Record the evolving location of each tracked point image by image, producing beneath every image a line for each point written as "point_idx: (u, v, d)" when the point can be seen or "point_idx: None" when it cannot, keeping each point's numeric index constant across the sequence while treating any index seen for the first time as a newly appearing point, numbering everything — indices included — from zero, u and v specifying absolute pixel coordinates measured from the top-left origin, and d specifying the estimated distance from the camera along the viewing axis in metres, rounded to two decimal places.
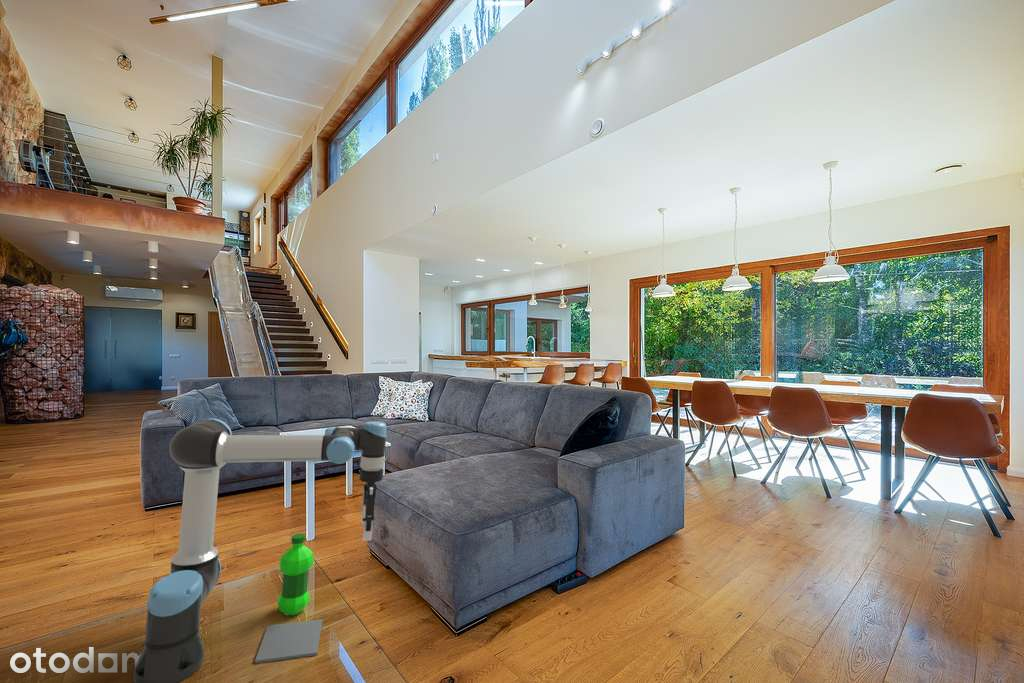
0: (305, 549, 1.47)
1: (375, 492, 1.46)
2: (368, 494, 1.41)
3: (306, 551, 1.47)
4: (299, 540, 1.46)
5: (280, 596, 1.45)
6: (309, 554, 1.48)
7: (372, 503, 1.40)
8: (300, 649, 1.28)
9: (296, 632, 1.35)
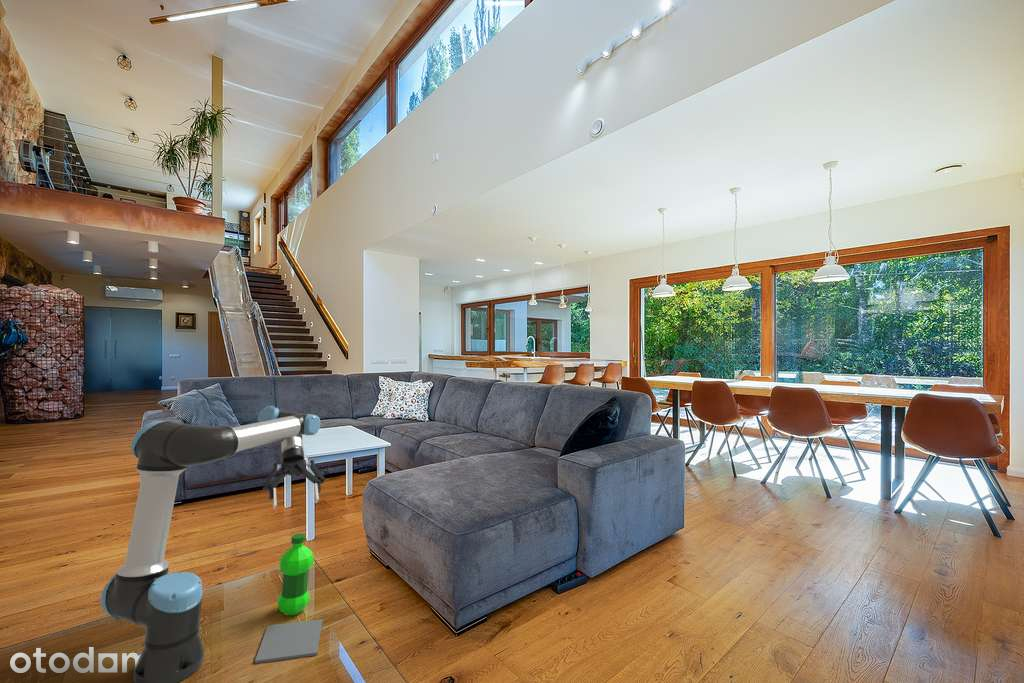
0: (305, 549, 1.47)
1: (301, 470, 1.66)
2: None
3: (306, 551, 1.47)
4: (299, 540, 1.46)
5: (280, 596, 1.45)
6: (309, 554, 1.48)
7: None
8: (300, 649, 1.28)
9: (296, 632, 1.35)
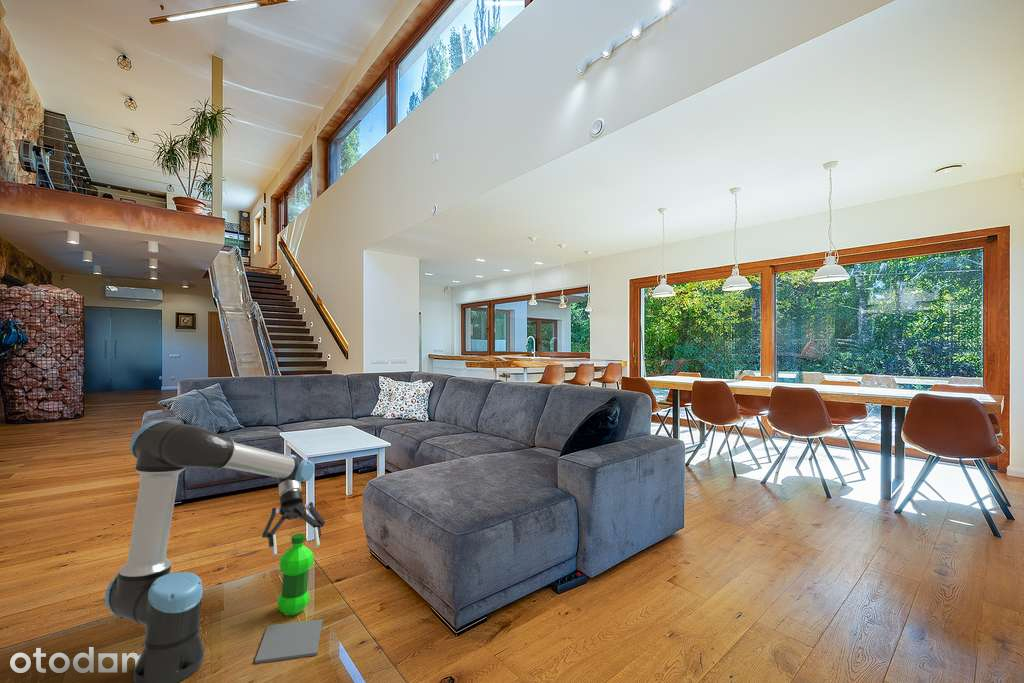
0: (305, 549, 1.47)
1: None
2: None
3: (306, 551, 1.47)
4: (299, 540, 1.46)
5: (280, 596, 1.45)
6: (309, 553, 1.48)
7: None
8: (300, 649, 1.28)
9: (296, 632, 1.35)
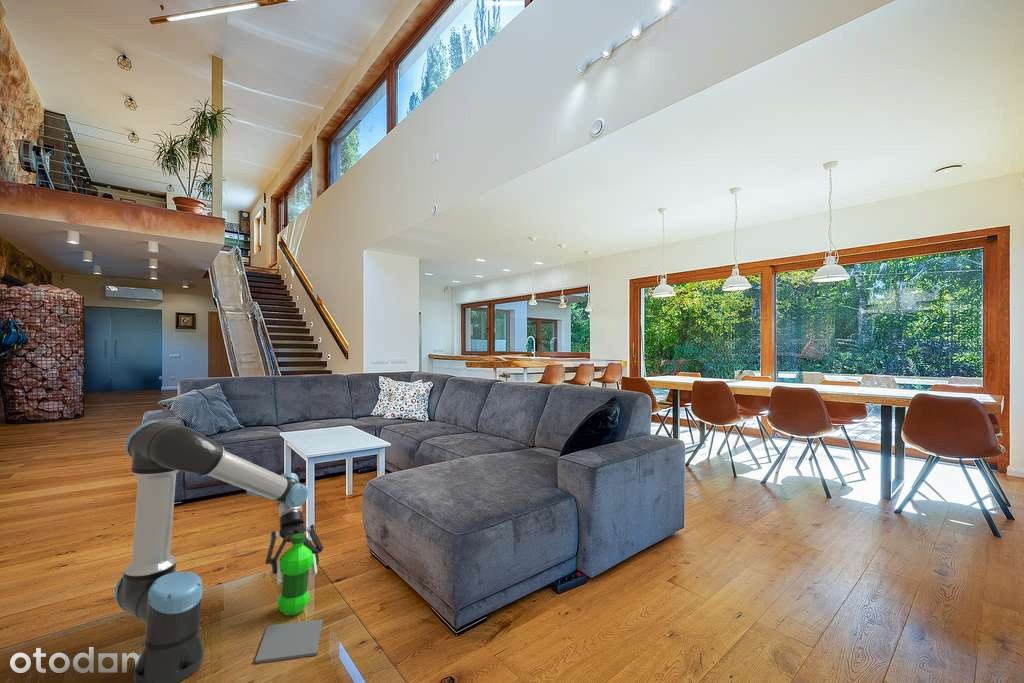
0: (305, 549, 1.47)
1: None
2: None
3: (306, 551, 1.47)
4: (299, 540, 1.46)
5: (280, 596, 1.45)
6: (309, 554, 1.48)
7: None
8: (300, 649, 1.28)
9: (296, 632, 1.35)
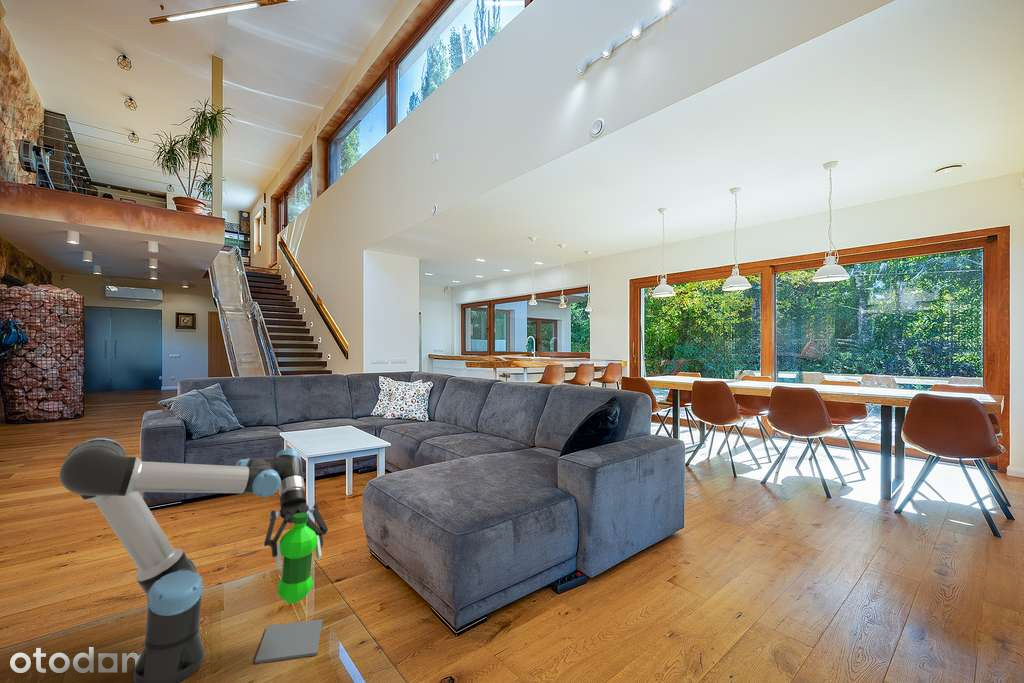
0: (308, 530, 1.33)
1: None
2: None
3: (309, 532, 1.33)
4: (301, 520, 1.32)
5: (280, 581, 1.31)
6: (313, 535, 1.33)
7: None
8: (300, 649, 1.28)
9: (296, 632, 1.35)
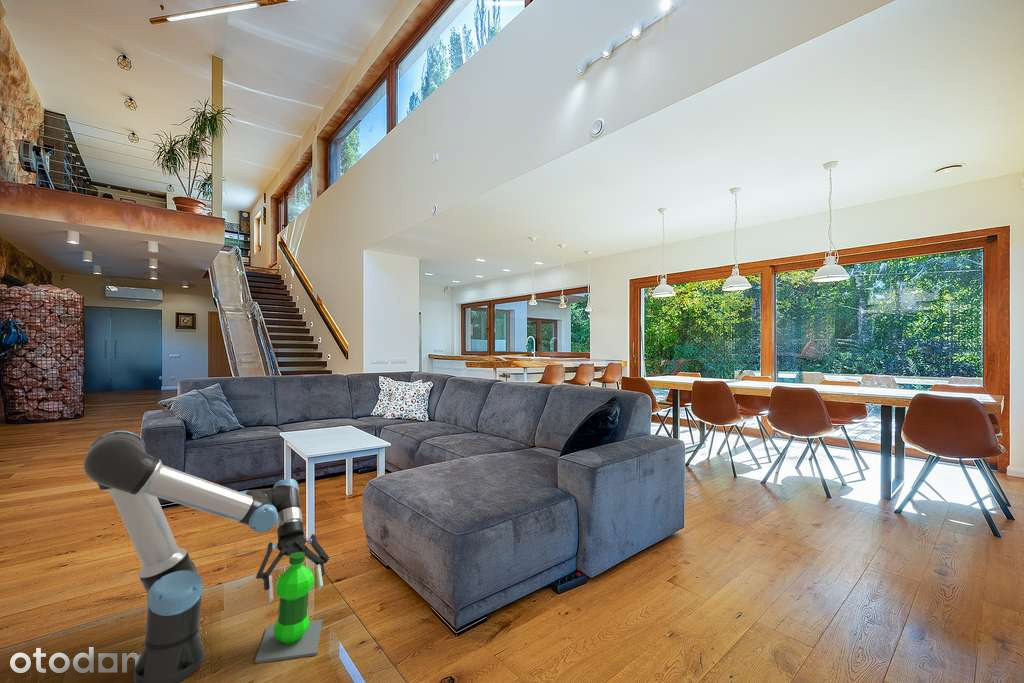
0: (305, 570, 1.33)
1: None
2: None
3: (305, 572, 1.32)
4: (298, 561, 1.31)
5: (277, 622, 1.30)
6: (310, 575, 1.33)
7: None
8: (300, 649, 1.28)
9: None
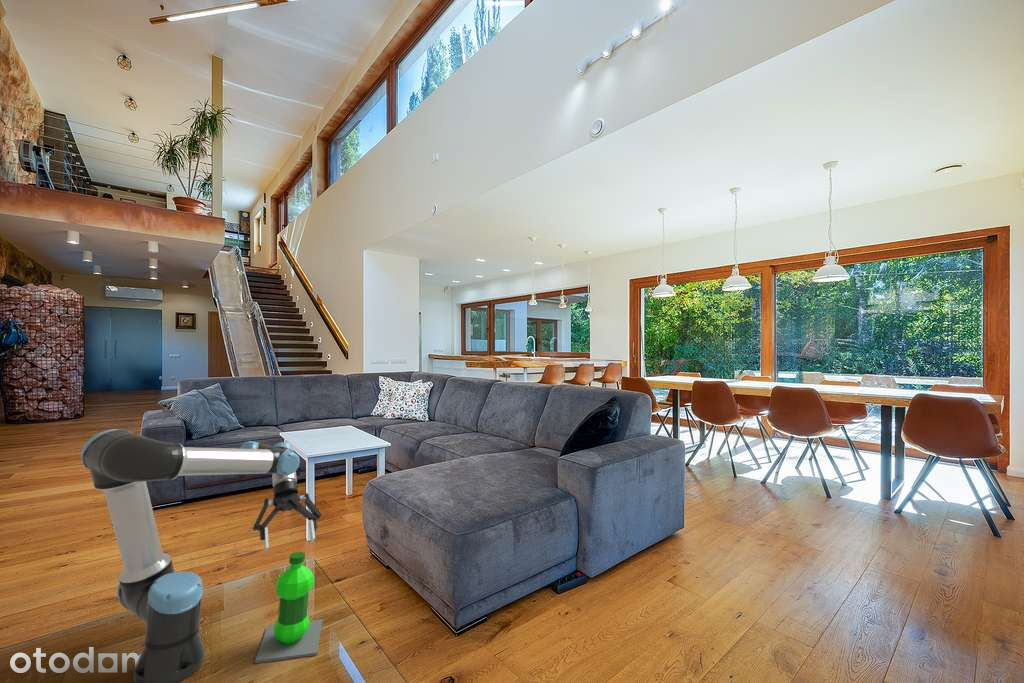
0: (305, 570, 1.33)
1: None
2: None
3: (305, 572, 1.32)
4: (298, 560, 1.31)
5: (277, 622, 1.30)
6: (309, 575, 1.33)
7: None
8: (300, 649, 1.28)
9: None
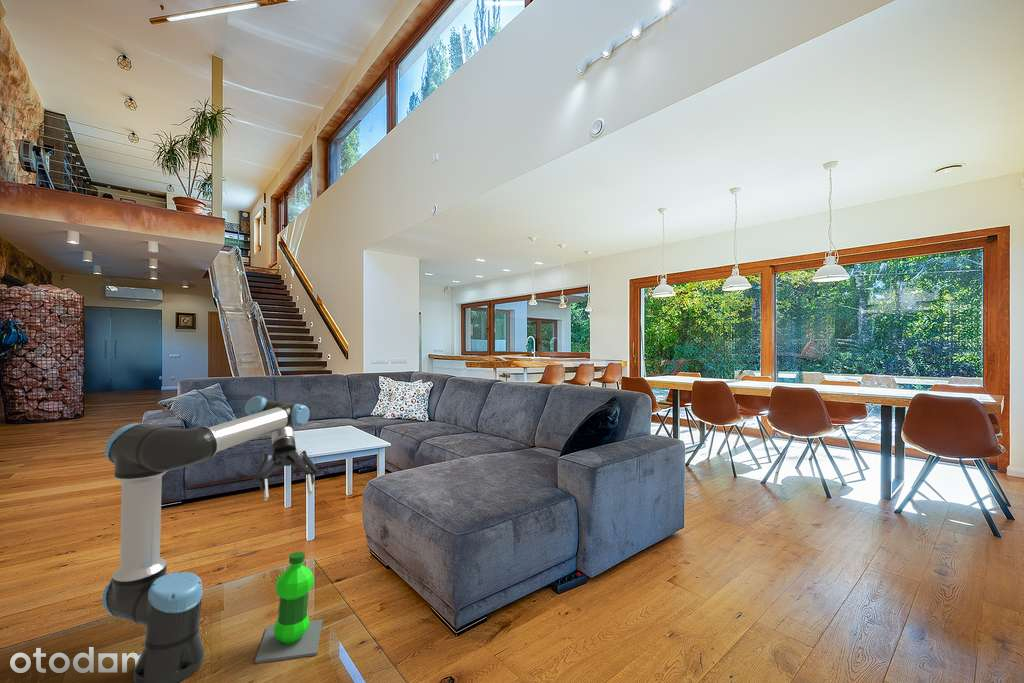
0: (304, 569, 1.33)
1: None
2: None
3: (305, 571, 1.32)
4: (298, 560, 1.31)
5: (277, 622, 1.30)
6: (309, 574, 1.33)
7: None
8: (300, 649, 1.28)
9: None
